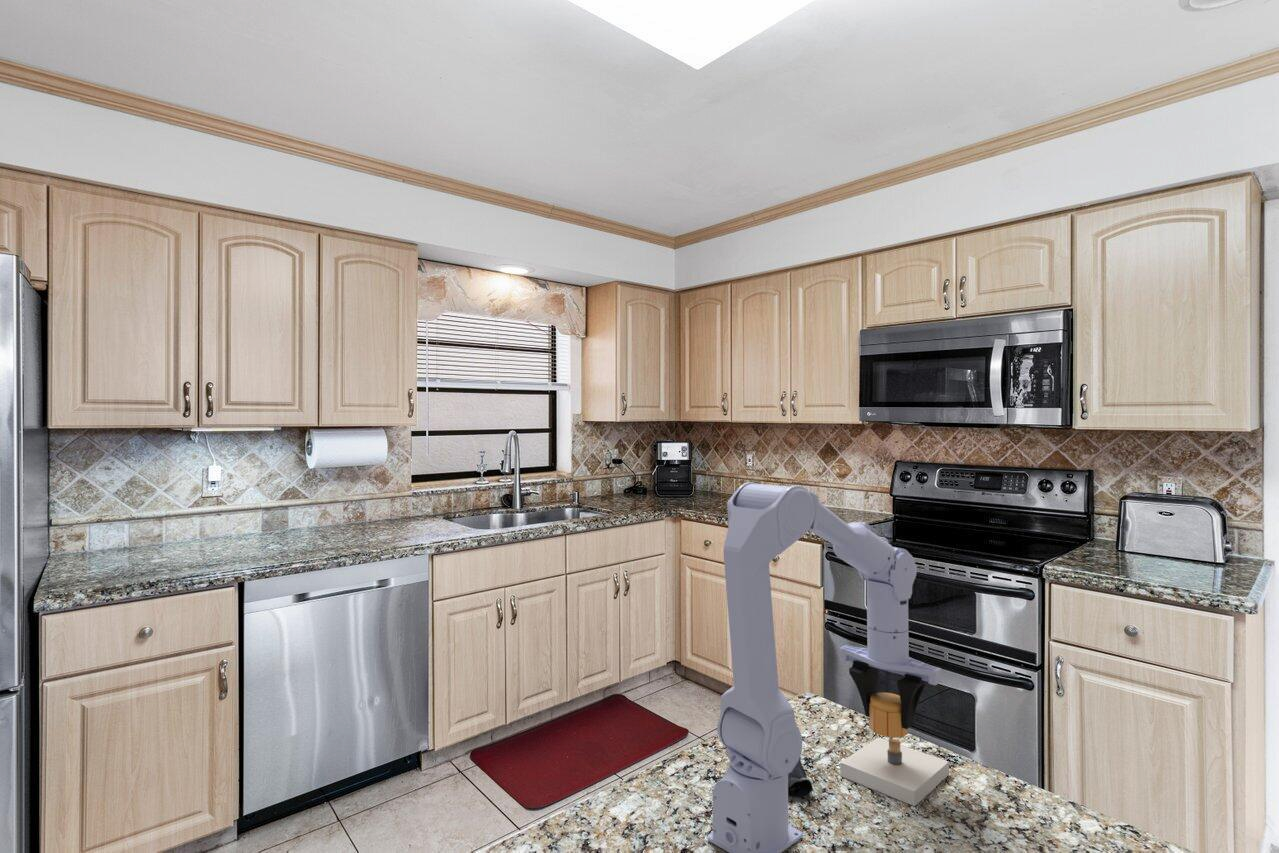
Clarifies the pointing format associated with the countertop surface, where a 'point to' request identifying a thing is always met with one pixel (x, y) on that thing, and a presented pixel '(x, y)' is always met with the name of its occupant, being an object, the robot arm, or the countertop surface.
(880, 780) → the white base plate
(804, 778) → the electronic device
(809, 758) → the countertop surface
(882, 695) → the orange acorn nut
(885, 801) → the countertop surface
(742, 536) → the robot arm
